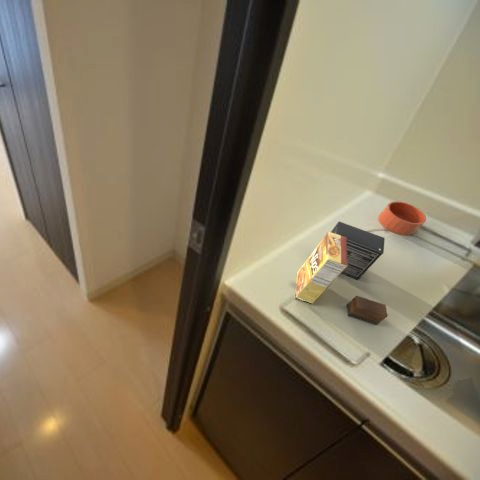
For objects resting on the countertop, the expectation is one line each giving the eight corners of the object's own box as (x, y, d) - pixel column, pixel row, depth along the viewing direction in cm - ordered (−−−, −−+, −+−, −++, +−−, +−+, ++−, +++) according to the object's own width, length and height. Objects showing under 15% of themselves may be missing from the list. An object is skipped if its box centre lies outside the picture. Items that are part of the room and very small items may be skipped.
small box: (360, 263, 85) (386, 236, 77) (358, 280, 81) (384, 254, 74) (318, 246, 89) (339, 219, 81) (314, 262, 85) (335, 235, 77)
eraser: (374, 313, 75) (385, 304, 72) (376, 325, 73) (387, 316, 70) (346, 304, 77) (356, 295, 74) (347, 315, 75) (357, 306, 72)
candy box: (296, 272, 83) (326, 230, 71) (314, 277, 82) (347, 236, 70) (293, 299, 77) (326, 258, 66) (312, 305, 76) (349, 265, 65)
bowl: (411, 217, 98) (422, 206, 95) (417, 239, 92) (429, 228, 89) (376, 209, 100) (385, 197, 97) (380, 229, 94) (390, 218, 91)
